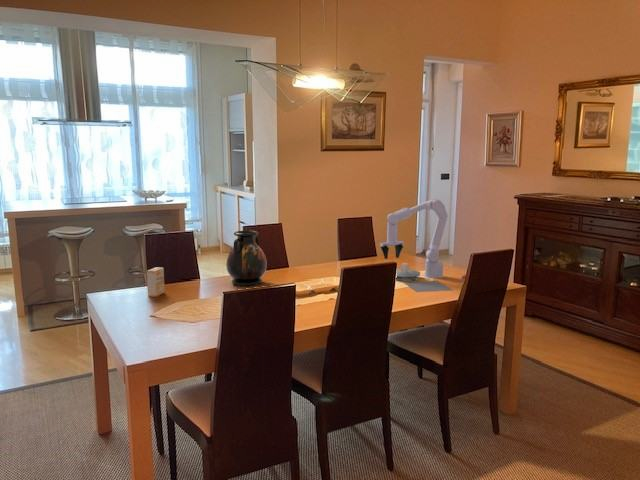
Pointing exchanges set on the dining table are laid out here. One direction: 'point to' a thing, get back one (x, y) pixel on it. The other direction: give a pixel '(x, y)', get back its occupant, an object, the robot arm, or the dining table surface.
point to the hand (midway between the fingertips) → (391, 258)
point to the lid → (406, 271)
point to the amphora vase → (246, 260)
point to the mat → (427, 286)
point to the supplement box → (155, 281)
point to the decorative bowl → (406, 278)
